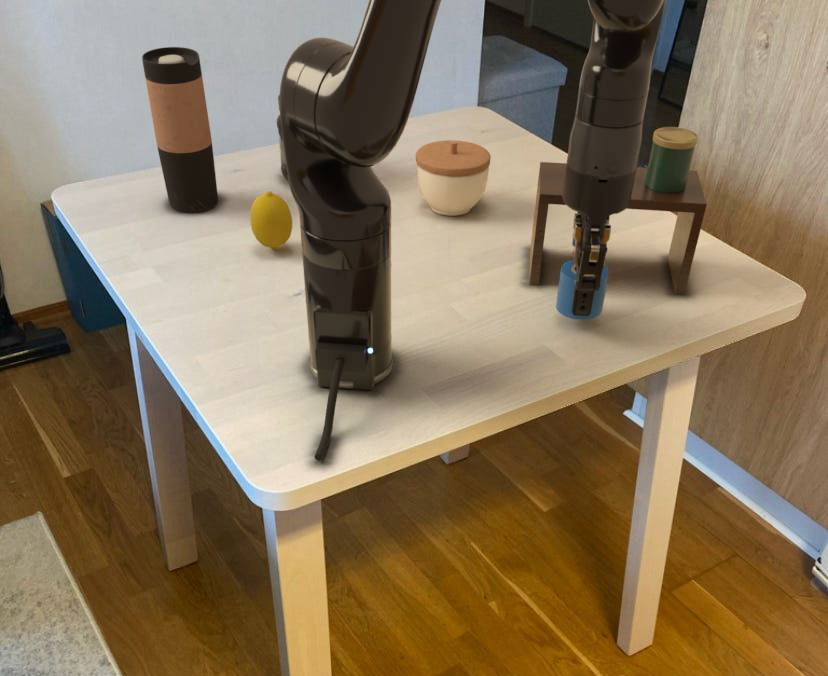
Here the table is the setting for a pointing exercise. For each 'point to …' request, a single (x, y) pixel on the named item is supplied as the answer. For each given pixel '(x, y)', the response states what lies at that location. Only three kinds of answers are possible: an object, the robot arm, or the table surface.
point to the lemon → (271, 220)
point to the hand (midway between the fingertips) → (579, 300)
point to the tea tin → (670, 159)
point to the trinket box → (452, 175)
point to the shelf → (643, 198)
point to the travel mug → (181, 127)
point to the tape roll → (568, 290)
